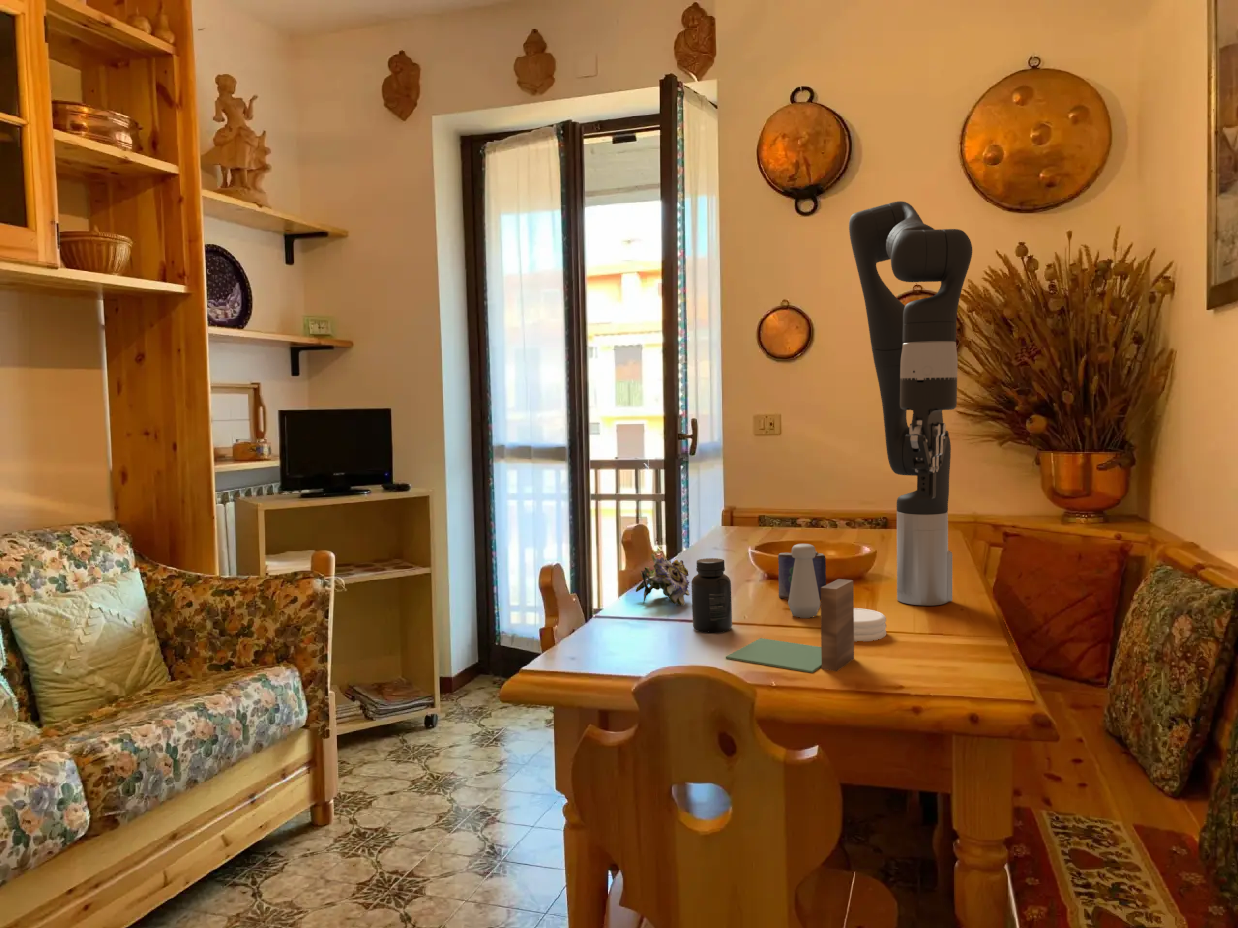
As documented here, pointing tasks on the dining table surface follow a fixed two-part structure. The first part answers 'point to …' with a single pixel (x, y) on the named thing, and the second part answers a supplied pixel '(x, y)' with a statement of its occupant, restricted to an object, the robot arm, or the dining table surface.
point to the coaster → (868, 625)
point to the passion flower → (666, 579)
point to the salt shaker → (804, 583)
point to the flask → (786, 572)
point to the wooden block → (837, 624)
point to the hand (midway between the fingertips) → (926, 498)
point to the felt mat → (780, 655)
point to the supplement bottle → (711, 597)
